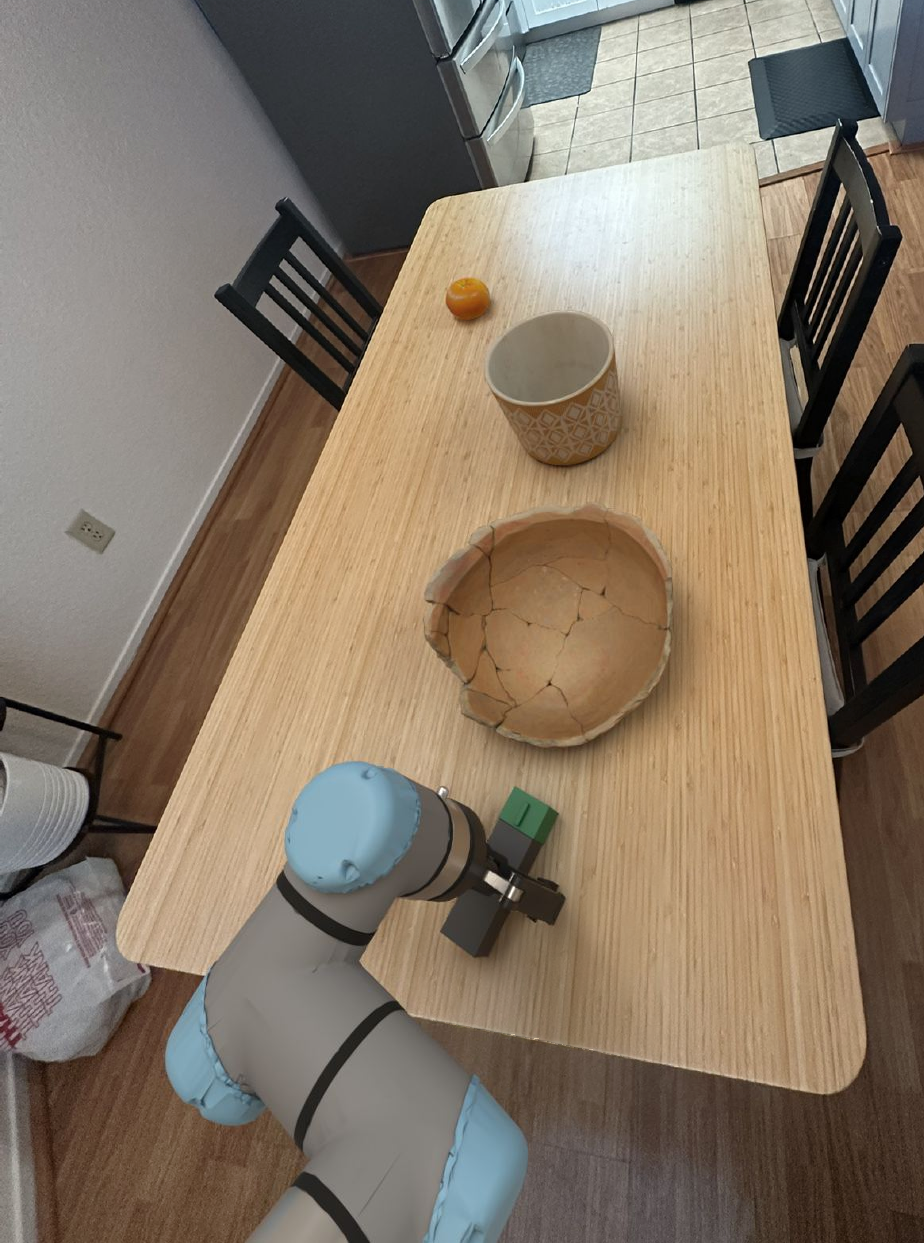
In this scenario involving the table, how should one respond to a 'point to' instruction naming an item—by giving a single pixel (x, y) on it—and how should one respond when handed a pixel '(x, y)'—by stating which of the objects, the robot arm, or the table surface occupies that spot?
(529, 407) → the planter
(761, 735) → the table surface
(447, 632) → the ceramic bowl
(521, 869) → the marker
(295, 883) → the robot arm
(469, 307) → the fruit
